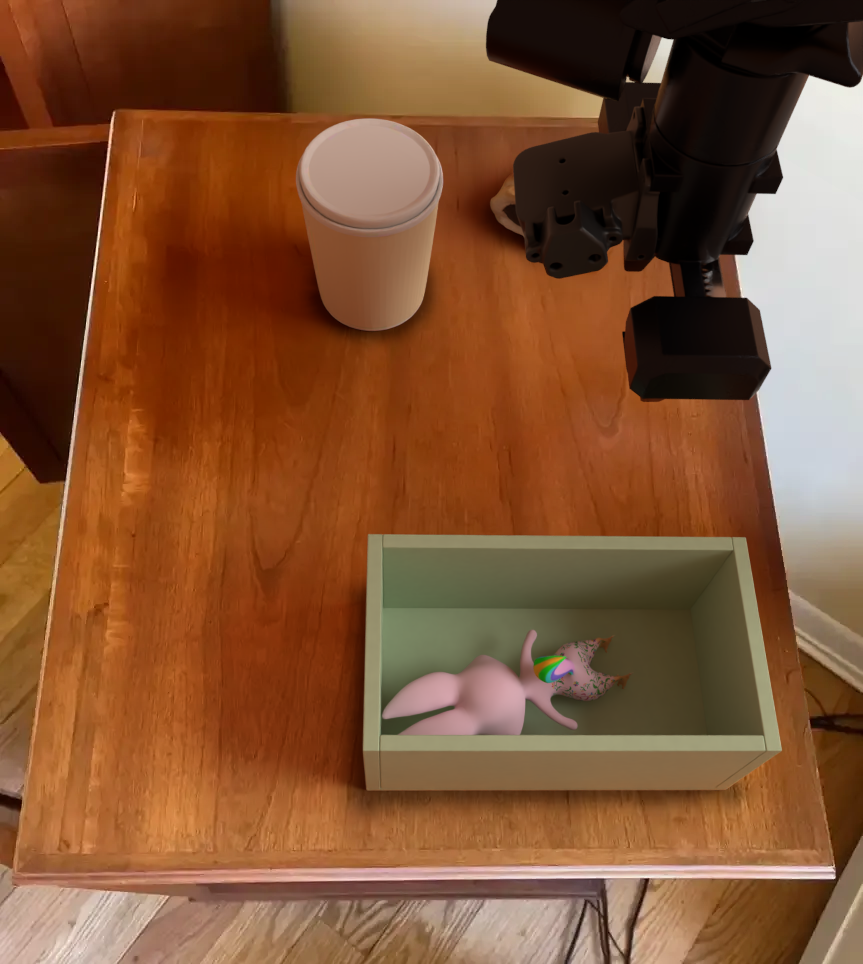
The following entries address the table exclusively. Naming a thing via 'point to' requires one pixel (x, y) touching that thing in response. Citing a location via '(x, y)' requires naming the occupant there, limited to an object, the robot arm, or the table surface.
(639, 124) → the robot arm
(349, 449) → the table surface
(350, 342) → the table surface
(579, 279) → the table surface
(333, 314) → the coffee cup
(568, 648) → the rabbit figure
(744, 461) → the table surface
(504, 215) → the pastry
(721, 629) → the bin
